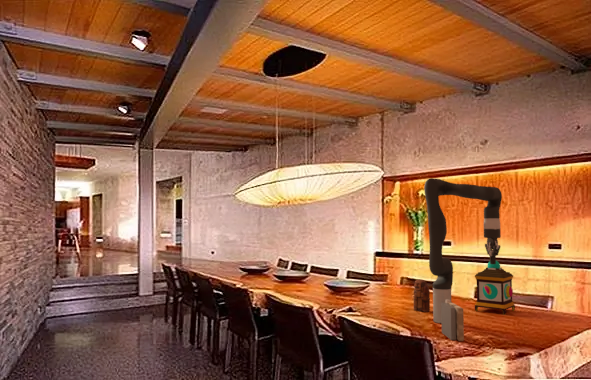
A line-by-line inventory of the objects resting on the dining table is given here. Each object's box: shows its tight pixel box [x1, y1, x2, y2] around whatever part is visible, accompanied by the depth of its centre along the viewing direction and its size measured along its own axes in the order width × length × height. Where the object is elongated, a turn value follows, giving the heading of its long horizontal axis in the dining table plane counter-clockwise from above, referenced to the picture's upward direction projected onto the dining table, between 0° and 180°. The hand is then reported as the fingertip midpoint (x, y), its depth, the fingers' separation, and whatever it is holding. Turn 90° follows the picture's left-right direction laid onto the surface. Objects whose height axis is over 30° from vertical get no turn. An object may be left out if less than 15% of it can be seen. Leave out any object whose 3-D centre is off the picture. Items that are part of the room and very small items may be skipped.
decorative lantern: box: [474, 260, 516, 316], centre depth 278 cm, size 20×20×30 cm
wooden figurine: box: [413, 279, 431, 313], centre depth 278 cm, size 12×6×18 cm, turn 33°
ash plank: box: [447, 301, 465, 342], centre depth 215 cm, size 16×2×14 cm, turn 179°
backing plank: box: [441, 299, 457, 341], centre depth 218 cm, size 17×5×15 cm, turn 0°
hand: (492, 264), depth 227 cm, fingers closed
